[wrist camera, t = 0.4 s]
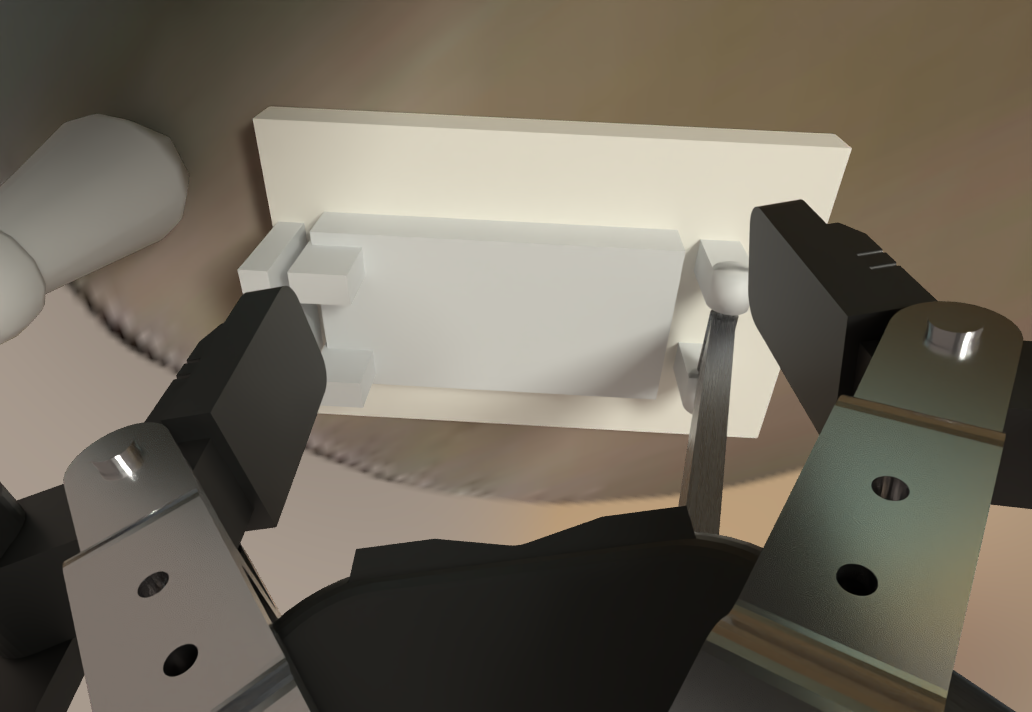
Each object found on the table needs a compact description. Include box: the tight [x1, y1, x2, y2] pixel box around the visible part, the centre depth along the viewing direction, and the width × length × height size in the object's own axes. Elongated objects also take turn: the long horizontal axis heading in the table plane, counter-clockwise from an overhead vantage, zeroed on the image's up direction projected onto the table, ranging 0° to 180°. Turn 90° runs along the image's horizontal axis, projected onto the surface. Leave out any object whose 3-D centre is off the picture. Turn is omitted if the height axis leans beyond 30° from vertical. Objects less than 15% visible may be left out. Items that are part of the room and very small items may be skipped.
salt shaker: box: [0, 114, 190, 344], centre depth 26 cm, size 6×6×13 cm
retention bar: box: [678, 310, 739, 535], centre depth 23 cm, size 3×19×1 cm
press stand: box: [238, 106, 852, 438], centre depth 31 cm, size 16×25×7 cm, turn 88°
